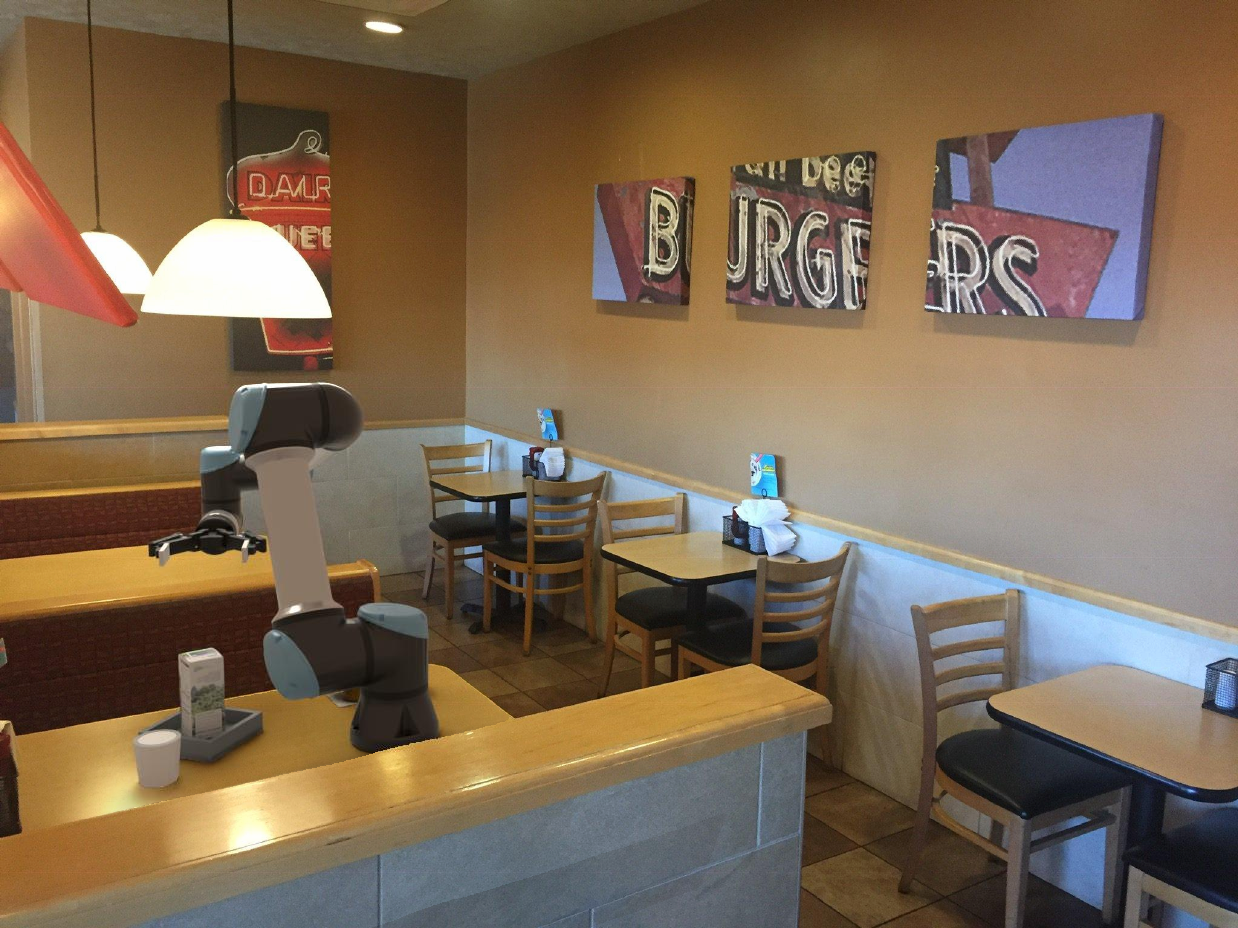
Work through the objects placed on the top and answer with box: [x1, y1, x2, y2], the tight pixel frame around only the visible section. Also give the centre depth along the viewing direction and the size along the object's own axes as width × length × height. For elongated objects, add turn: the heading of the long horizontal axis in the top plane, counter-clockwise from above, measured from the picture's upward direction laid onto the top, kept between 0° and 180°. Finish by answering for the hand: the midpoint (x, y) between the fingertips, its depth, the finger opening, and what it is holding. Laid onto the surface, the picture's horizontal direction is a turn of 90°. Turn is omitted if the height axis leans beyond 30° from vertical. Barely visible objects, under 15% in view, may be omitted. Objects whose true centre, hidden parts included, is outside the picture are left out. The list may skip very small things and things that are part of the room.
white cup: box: [132, 729, 181, 789], centre depth 158 cm, size 7×7×7 cm
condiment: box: [326, 687, 360, 708], centre depth 193 cm, size 7×8×12 cm
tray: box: [137, 706, 264, 764], centre depth 173 cm, size 14×14×4 cm
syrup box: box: [177, 647, 226, 740], centre depth 172 cm, size 6×6×14 cm
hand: (203, 557), depth 178 cm, fingers open, 13 cm apart
